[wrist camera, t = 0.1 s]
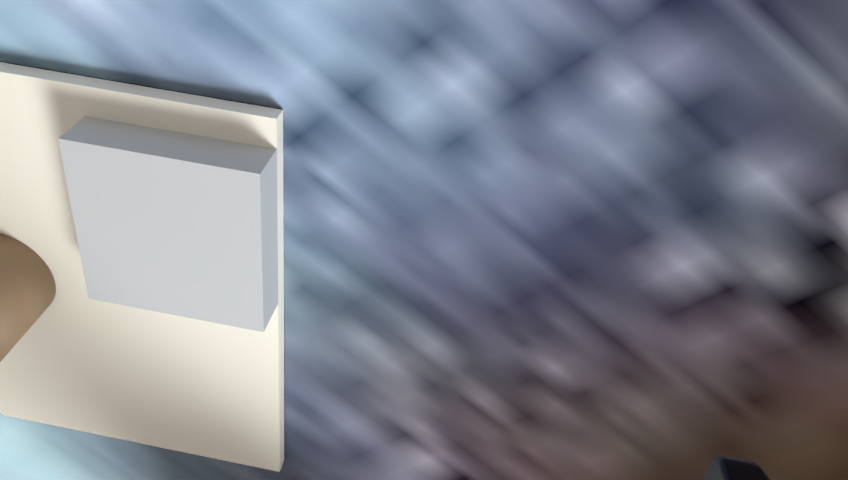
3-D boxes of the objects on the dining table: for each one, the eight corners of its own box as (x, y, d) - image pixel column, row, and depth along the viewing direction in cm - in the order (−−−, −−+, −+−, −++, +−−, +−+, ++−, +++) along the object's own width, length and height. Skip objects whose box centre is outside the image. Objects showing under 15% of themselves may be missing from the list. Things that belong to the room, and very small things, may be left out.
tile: (284, 460, 33) (254, 535, 30) (10, 404, 34) (-45, 472, 31) (283, 109, 23) (239, 169, 20) (-96, 45, 24) (-189, 94, 21)
